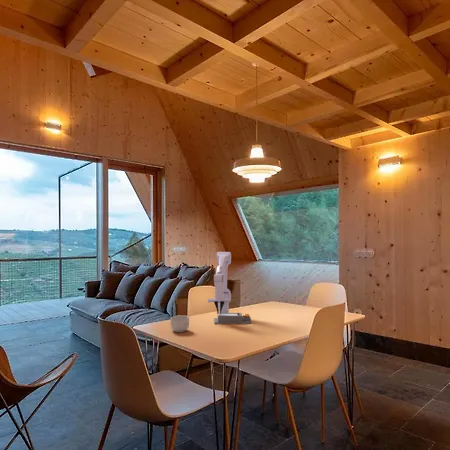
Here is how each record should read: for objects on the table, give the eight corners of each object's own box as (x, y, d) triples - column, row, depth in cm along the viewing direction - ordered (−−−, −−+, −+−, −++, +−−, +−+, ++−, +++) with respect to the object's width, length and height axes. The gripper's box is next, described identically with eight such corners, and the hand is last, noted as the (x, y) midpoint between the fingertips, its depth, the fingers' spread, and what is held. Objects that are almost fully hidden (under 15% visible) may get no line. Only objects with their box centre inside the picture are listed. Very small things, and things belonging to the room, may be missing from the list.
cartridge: (217, 318, 241) (217, 307, 241) (237, 318, 242) (237, 307, 242) (217, 320, 235) (217, 309, 235) (238, 320, 236) (238, 309, 236)
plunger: (242, 318, 241) (242, 313, 241) (248, 318, 241) (248, 313, 241) (243, 320, 237) (243, 315, 237) (249, 320, 237) (249, 315, 237)
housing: (214, 319, 244) (214, 312, 244) (248, 319, 245) (248, 312, 245) (214, 324, 232) (214, 316, 232) (251, 323, 233) (251, 316, 233)
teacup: (188, 333, 209) (188, 319, 210) (168, 333, 209) (169, 319, 210) (190, 327, 223) (190, 314, 224) (172, 327, 223) (172, 313, 224)
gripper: (208, 293, 234) (207, 314, 234) (230, 293, 235) (230, 314, 234) (207, 291, 241) (207, 312, 241) (230, 291, 242) (229, 312, 242)
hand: (219, 313), depth 238 cm, fingers closed on cartridge
